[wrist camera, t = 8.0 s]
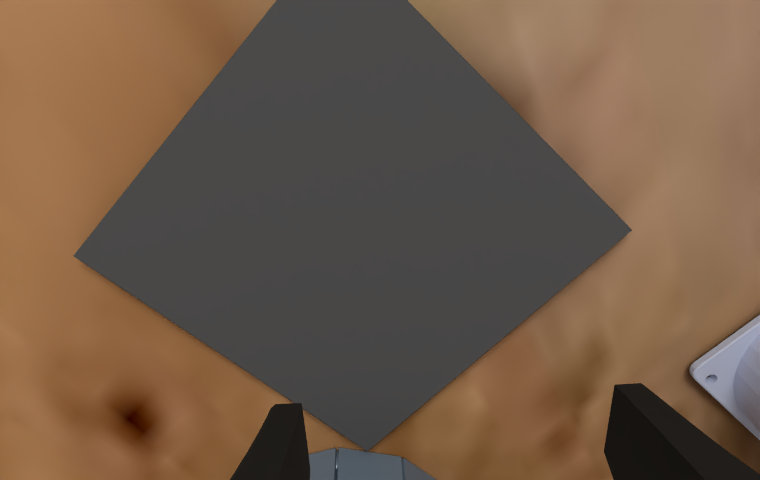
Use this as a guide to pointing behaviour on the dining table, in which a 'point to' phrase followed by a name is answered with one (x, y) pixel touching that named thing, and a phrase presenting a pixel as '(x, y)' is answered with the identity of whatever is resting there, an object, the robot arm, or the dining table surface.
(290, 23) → the rubber mat
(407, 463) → the blue pet bowl
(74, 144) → the dining table surface
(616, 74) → the dining table surface
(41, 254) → the dining table surface
